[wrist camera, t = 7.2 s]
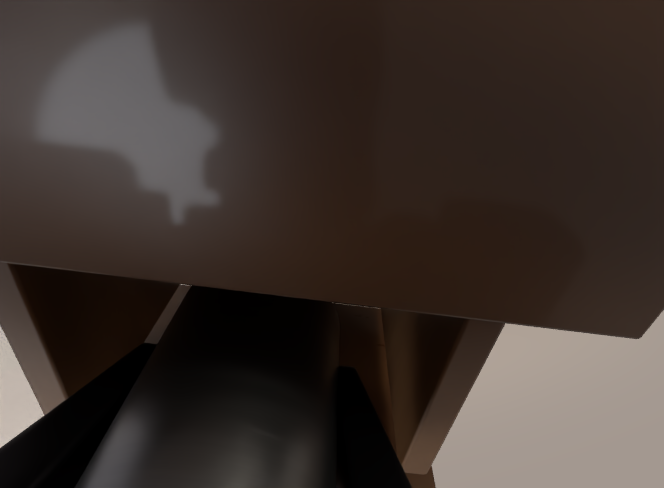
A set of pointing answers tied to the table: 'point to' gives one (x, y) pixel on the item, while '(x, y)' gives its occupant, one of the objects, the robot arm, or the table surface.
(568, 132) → the cabinet
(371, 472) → the robot arm
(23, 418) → the table surface
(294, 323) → the cylinder
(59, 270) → the drawer
